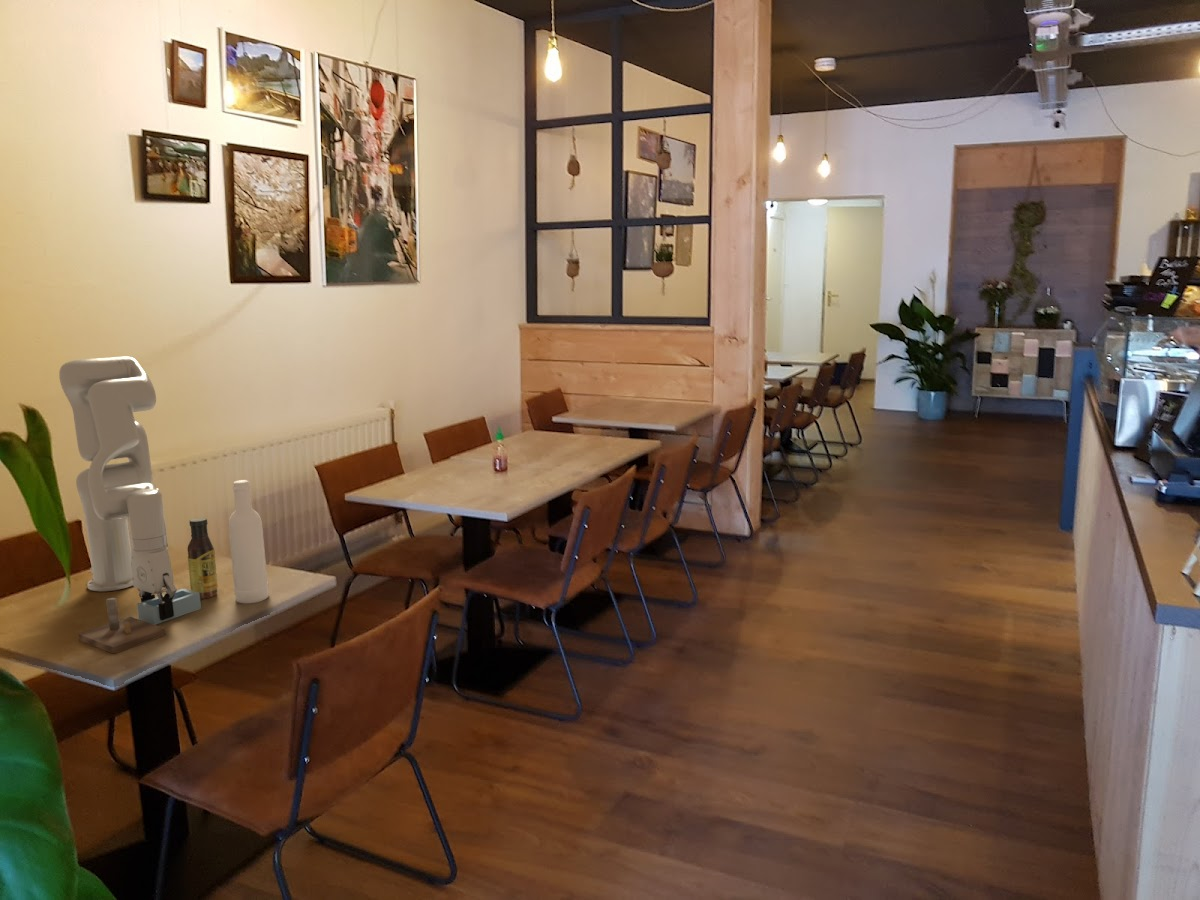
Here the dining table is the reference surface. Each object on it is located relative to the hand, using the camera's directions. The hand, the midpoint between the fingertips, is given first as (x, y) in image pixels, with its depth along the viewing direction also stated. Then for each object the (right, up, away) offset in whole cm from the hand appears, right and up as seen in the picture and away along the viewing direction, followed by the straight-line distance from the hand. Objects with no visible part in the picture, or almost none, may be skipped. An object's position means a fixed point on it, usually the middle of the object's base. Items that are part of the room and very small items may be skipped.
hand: (158, 614), depth 216 cm
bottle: (+18, +2, +12) cm, 22 cm away
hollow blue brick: (+2, 0, +3) cm, 3 cm away
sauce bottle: (+5, +2, +15) cm, 16 cm away
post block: (-3, -3, -11) cm, 12 cm away
